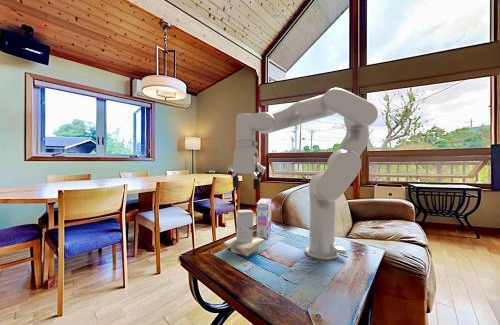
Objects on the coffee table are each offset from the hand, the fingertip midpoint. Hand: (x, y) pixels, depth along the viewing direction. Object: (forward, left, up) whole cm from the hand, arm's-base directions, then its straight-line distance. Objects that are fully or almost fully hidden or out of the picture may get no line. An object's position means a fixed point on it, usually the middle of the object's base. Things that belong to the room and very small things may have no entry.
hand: (245, 188), depth 96 cm
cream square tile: (0, 0, -25) cm, 25 cm away
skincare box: (0, 0, -22) cm, 22 cm away
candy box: (+3, -22, -26) cm, 34 cm away
